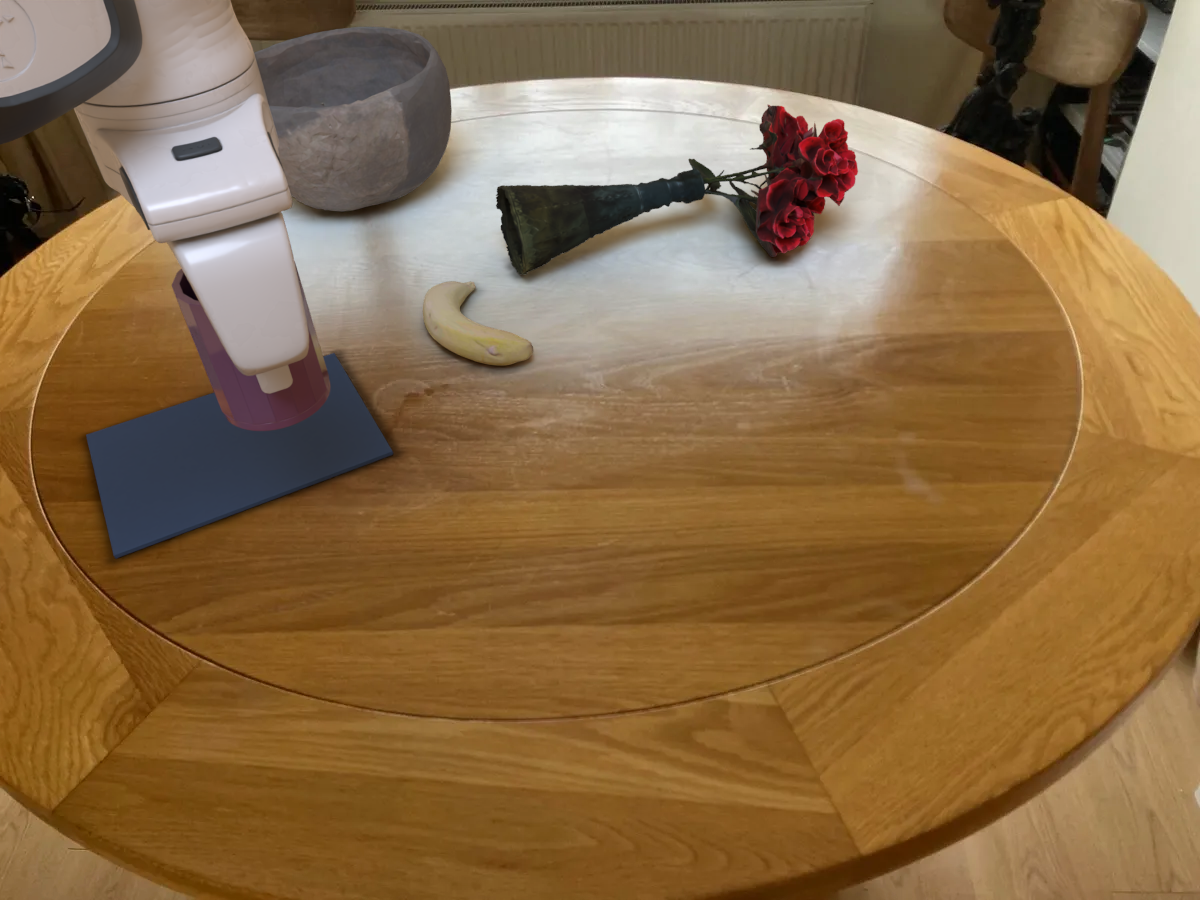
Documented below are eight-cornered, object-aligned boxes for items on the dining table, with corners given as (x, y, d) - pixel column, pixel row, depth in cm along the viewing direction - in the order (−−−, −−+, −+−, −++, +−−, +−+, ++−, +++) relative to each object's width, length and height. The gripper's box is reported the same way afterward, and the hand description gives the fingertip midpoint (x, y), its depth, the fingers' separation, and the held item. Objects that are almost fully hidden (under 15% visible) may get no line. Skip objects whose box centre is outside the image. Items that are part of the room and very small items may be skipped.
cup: (235, 445, 57) (184, 319, 51) (212, 385, 61) (162, 263, 55) (344, 408, 59) (307, 283, 53) (314, 352, 64) (277, 231, 58)
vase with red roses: (528, 336, 104) (819, 254, 110) (552, 313, 86) (899, 215, 92) (486, 195, 103) (782, 120, 109) (500, 141, 85) (854, 55, 91)
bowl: (289, 264, 102) (249, 128, 92) (235, 176, 118) (195, 52, 108) (498, 202, 111) (481, 71, 100) (420, 128, 127) (400, 8, 116)
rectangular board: (115, 559, 72) (113, 555, 71) (87, 438, 82) (85, 434, 82) (393, 454, 79) (392, 451, 79) (335, 356, 90) (334, 352, 89)
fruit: (464, 390, 85) (459, 360, 83) (406, 308, 95) (400, 279, 93) (537, 365, 87) (534, 335, 85) (473, 287, 97) (469, 259, 95)
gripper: (92, 75, 54) (175, 284, 64) (149, 229, 41) (245, 465, 50) (204, 51, 56) (269, 257, 66) (295, 190, 43) (361, 424, 52)
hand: (259, 349), depth 58 cm, fingers closed on cup, 7 cm apart
